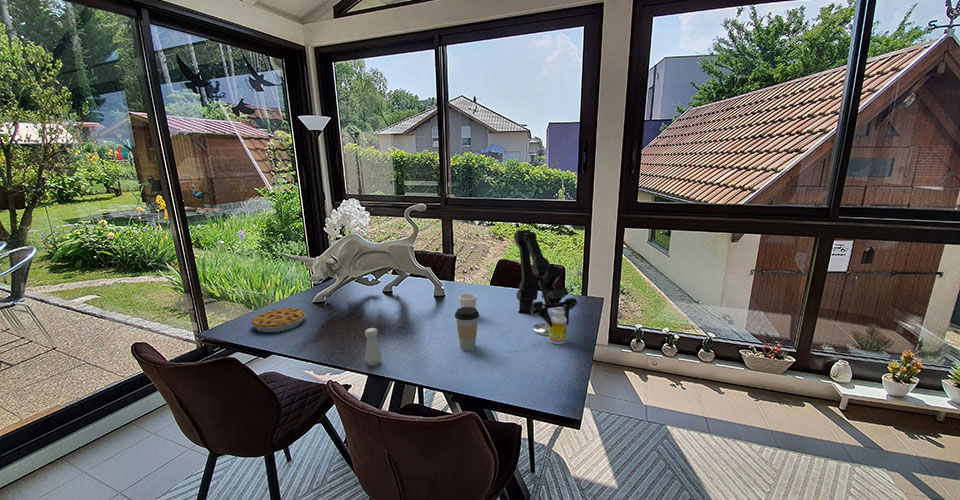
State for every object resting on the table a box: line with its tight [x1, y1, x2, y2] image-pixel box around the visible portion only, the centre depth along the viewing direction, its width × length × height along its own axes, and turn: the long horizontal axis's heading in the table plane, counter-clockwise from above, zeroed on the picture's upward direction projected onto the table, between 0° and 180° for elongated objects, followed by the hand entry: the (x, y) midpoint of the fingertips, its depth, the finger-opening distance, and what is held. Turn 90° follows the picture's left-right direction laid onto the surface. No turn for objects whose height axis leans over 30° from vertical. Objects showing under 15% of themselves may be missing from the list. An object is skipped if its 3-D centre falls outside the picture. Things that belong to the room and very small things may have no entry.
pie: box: [250, 307, 307, 333], centre depth 176 cm, size 22×22×5 cm
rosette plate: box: [532, 322, 549, 337], centre depth 164 cm, size 11×11×1 cm
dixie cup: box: [458, 293, 478, 308], centre depth 180 cm, size 8×8×10 cm
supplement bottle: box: [548, 307, 568, 345], centre depth 152 cm, size 7×7×13 cm
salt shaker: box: [364, 327, 382, 367], centre depth 138 cm, size 6×6×13 cm
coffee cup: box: [454, 307, 480, 351], centre depth 149 cm, size 9×9×15 cm
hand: (559, 325), depth 151 cm, fingers closed on supplement bottle, 7 cm apart
